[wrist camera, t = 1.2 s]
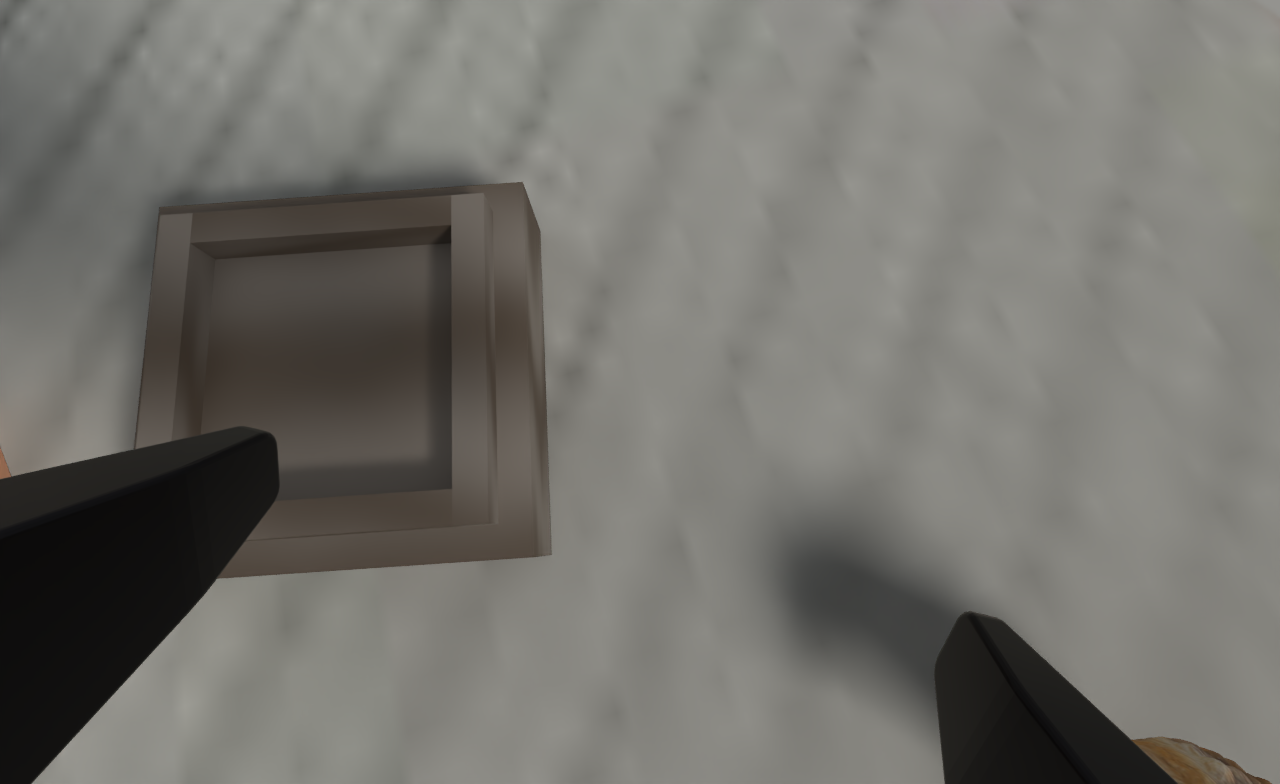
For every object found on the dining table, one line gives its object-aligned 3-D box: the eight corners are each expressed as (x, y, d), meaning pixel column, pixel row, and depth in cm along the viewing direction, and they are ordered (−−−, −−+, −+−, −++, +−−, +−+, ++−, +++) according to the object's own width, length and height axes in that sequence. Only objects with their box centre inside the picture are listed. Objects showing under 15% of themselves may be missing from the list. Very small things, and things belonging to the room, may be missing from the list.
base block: (551, 555, 22) (525, 558, 18) (200, 578, 22) (85, 587, 18) (540, 230, 25) (515, 161, 21) (226, 252, 25) (131, 187, 21)
